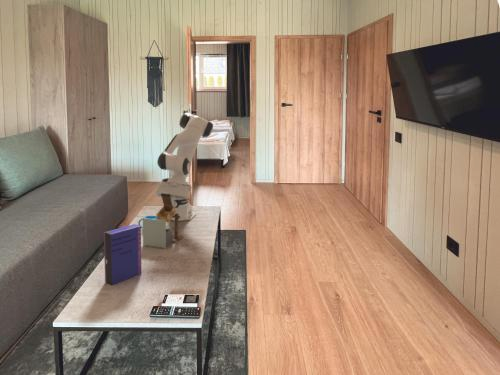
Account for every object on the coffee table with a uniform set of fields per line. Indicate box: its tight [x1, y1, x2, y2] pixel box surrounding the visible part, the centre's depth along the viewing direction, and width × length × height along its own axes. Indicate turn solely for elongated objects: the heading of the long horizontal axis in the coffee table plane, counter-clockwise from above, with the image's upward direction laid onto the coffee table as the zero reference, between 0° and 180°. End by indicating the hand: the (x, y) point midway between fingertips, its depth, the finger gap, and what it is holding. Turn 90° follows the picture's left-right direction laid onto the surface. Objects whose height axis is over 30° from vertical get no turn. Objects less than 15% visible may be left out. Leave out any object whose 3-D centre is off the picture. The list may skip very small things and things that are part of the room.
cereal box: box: [103, 223, 143, 286], centre depth 227 cm, size 17×5×24 cm, turn 144°
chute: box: [155, 193, 176, 224], centre depth 281 cm, size 10×9×15 cm
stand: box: [156, 212, 184, 244], centre depth 288 cm, size 10×14×16 cm
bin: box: [142, 217, 174, 250], centre depth 277 cm, size 11×14×16 cm
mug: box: [137, 215, 157, 230], centre depth 305 cm, size 12×8×8 cm
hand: (168, 203), depth 285 cm, fingers closed, pressing on chute
